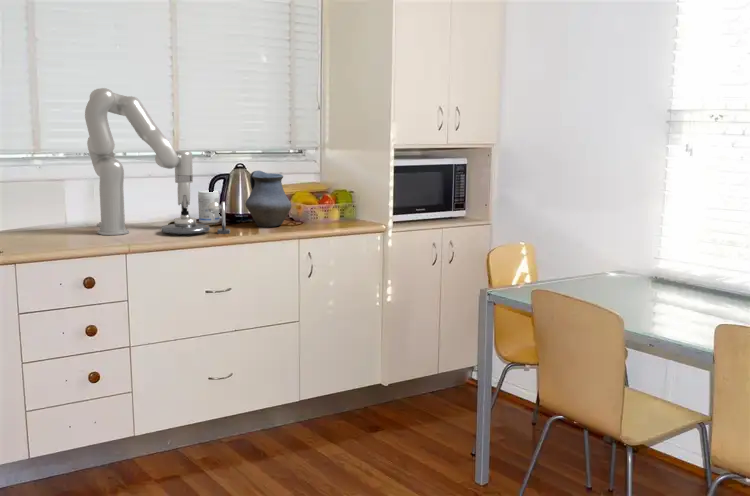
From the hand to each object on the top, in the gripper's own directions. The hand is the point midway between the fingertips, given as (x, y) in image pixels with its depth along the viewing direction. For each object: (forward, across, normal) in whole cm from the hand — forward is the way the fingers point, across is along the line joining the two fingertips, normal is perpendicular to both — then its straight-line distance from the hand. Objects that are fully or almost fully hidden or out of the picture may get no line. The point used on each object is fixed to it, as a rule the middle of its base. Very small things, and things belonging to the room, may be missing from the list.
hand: (185, 220), depth 337 cm
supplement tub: (+4, -19, +11) cm, 22 cm away
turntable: (+3, +12, 0) cm, 13 cm away
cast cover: (+1, +9, 0) cm, 9 cm away
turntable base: (+4, +12, 0) cm, 13 cm away
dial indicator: (+4, +15, +15) cm, 21 cm away
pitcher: (+4, -3, +37) cm, 37 cm away
